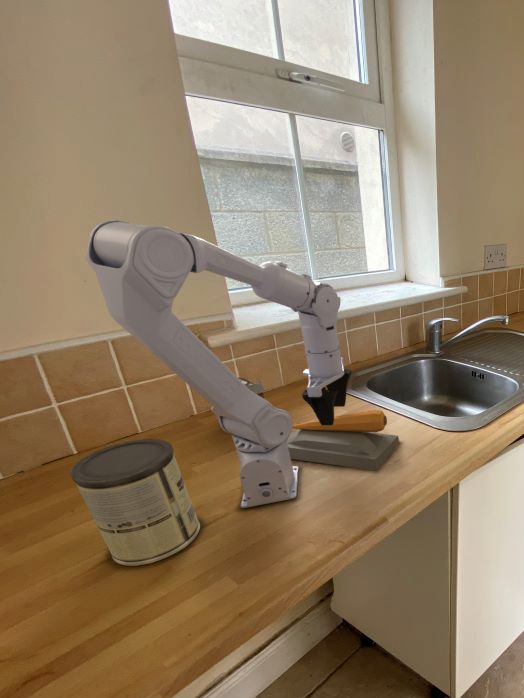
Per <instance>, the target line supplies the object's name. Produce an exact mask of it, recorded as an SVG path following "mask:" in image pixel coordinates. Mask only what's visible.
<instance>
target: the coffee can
mask: <svg viewBox="0 0 524 698" xmlns="http://www.w3.org/2000/svg"><path fill="white" fill-rule="evenodd" d="M174 452H175V451H174V448H173V445H172V444H171V442H169V441H167V440H163V439H159V438H157V439H156V438H145V439H144V438H143V439H134V440H129V441H124V442H120V443H116V444H113V445H109V446H107V447H104V448H102V449H99V450H96V451H95V452H92V453H90V454H89V455H87V456H85V457H83V458H82V459H81V460H78V461H77V462H76V464H75V465H73V467H72V468H71V470H70V475H69V476H70V477H71V479H72V481H73V482H74V483H75V484H76V487H77V489H78V491H79V493H80V495H81V497H82V498H83V501H84V503H85V504H86V507H87V508H88V511H89V512H90V515H91V516H92V518H93V520H94V522H95V525H96V526H97V528H98V531H99V532H100V534H101V536H102V539H103V540H104V542H105V544H106V547H107V548H108V550H109V552H110V554H111V559H112V560H113V561H114V562H115V563H117V564H118V565H122V566H129V567H137V566H138V567H139V566H142V565H149V564H152V563H155V562H159V561H161V560H164V559H167V558H168V557H171V556H173V555H174V554H176V553H178V552H180V551H182V550H184V549H185V548H186V547H188V546H189V545H190V544H191V543H192V542H193V541H194V540H195V539H196V538H197V536H198V534H199V532H200V529H201V523H200V520H199V519H198V516H197V514H196V512H195V509H194V506H193V503H192V500H191V497H190V495H189V492H188V489H187V487H186V484H185V480H184V478H183V476H182V473H181V471H180V468H179V464H178V462H177V459H176V456H175V453H174Z"/></svg>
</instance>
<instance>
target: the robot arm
mask: <svg viewBox="0 0 524 698" xmlns="http://www.w3.org/2000/svg"><path fill="white" fill-rule="evenodd" d="M84 257H85V258H84V259H85V261H86V262H87V263H88V265H89V266H90V267H91V268H92V270H93V271H94V273H95V275H96V278H97V281H98V284H99V287H100V289H101V292H102V295H103V296H102V297H103V299H104V301H105V304H106V305H105V306H106V308H107V311H108V313H109V315H110V316H111V318H112V319H113V320H114V321H115V322H116V323H117V324H118V325H119V326H120V327H121V328H122V329H124V330H125V331H126V332H127V333H129V335H131V336H132V337H133V338H134V339H135V340H136V341H138V343H140V344H141V345H142V346H144V347H145V348H146V349H147V350H148V351H149V353H151V354H153V355H154V356H155V357H156V358H157V359H158V360H159V361H160V362H162V363H163V364H164V365H165V366H166V367H167V368H168V369H170V370H171V371H172V372H173V373H174V374H175V375H176V376H178V377H179V379H181V380H182V381H183V382H184V383H185V384H187V385H188V386H189V387H190V388H191V389H193V391H195V392H196V393H197V394H198V395H200V396H201V397H202V398H203V399H204V400H205V401H206V402H207V403H209V404H210V406H211V407H210V411H211V412H212V413H213V414H214V416H216V418H217V420H218V423H219V426H220V428H221V430H222V431H223V432H225V433H227V434H229V435H231V437H232V441H233V443H234V446H235V449H236V453H237V457H238V460H239V463H240V470H239V480H240V482H241V486H242V489H243V494H242V497H241V501H240V508H242V509H246V508H251V507H257V506H263V505H267V504H272V503H277V502H282V501H283V502H284V501H288V500H294V499H296V498H297V494H298V482H299V470H300V469H299V466H297V465H295V466H293V462H292V460H291V458H290V453H289V449H288V444H287V441H288V437H289V436H290V435H291V434H292V430H293V429H292V426H293V425H294V424H293V423H294V422H293V417H292V415H290V413H289V412H288V411H287V410H285V409H281V408H277V407H276V406H274V405H273V404H272V403H271V402H270V401H268V400H267V399H265V398H264V399H263V398H262V397H260V396H258V395H257V394H255V393H253V392H252V391H250V390H249V389H248V388H247V387H246V386H245V385H244V384H243V383H242V382H241V381H240V380H239V379H238V378H239V377H238V376H237V375H236V374H235V373H234V372H232V370H231V369H230V368H228V366H227V365H225V363H223V362H222V361H221V359H220V358H218V356H217V355H215V354H214V352H212V350H211V349H210V348H209V347H208V346H206V345H205V344H204V343H203V341H202V340H201V339H200V338H199V337H197V335H195V334H194V332H193V331H192V330H191V329H189V327H188V326H187V325H186V324H185V323H184V322H183V321H182V320H180V319H179V318H178V316H177V315H176V314H174V312H173V310H172V309H173V303H174V301H175V299H176V297H177V295H178V293H179V292H180V290H181V289H182V287H183V285H184V283H185V281H186V280H187V279H188V276H189V274H191V273H193V274H200V273H202V272H204V271H207V272H209V273H213V274H216V275H219V276H221V277H225V278H228V279H231V280H234V281H236V282H240V283H243V284H246V285H249V286H251V289H252V291H253V293H254V294H255V295H256V296H257V297H258V298H260V299H262V300H266V301H270V302H272V303H275V304H278V305H281V306H283V307H287V308H290V309H291V311H292V312H294V313H297V314H298V320H299V324H300V330H301V335H302V341H303V346H304V353H305V357H306V362H307V368H306V369H304V370H303V372H302V376H303V377H308V378H307V379H308V384H307V386H306V389H304V391H302V392H301V396H302V399H303V400H304V401H305V402H306V403H307V405H309V406H310V408H311V409H312V411H313V412H314V414H315V416H316V418H317V420H319V422H320V424H321V425H333V423H334V417H335V408H340V407H341V408H344V407H345V406H346V402H347V391H348V385H349V381H350V377H351V375H352V370H351V369H348V368H347V369H346V368H345V363H344V362H345V361H344V357H342V355H341V347H340V341H339V334H338V328H337V324H338V321H339V318H338V314H339V310H340V307H341V297H340V296H338V293H337V292H336V290H335V289H334V288H333V286H331V284H328V283H325V282H321V281H320V282H319V281H315V280H313V279H312V276H311V275H310V274H308V273H301V274H300V273H298V272H296V271H293V270H291V269H289V268H288V264H287V263H285V262H283V261H278V260H274V261H273V262H272V261H264V262H262V263H260V264H257V263H255V262H252V261H250V260H248V259H246V258H244V257H242V256H240V255H237V254H235V253H233V252H231V251H228V250H226V249H224V248H222V247H220V246H218V245H216V244H213V243H211V242H209V241H207V240H205V239H203V238H201V237H197V236H196V235H192V234H187V233H184V232H178V231H176V230H175V229H173V228H170V227H167V226H165V225H164V226H163V225H146V224H145V225H144V224H137V223H130V222H128V221H124V220H118V219H111V220H106V221H105V220H104V221H102V222H100V223H98V224H97V225H96V226H94V227H93V228H92V230H91V231H90V233H89V236H88V241H87V247H86V251H85V256H84ZM237 377H238V378H237Z"/></svg>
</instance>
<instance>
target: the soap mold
mask: <svg viewBox="0 0 524 698" xmlns="http://www.w3.org/2000/svg"><path fill="white" fill-rule="evenodd" d="M287 444H288V449H289V453H290V458H291V459H293V460H298V461H305V462H311V463H320V464H326V465H333V466H340V467H347V468H354V469H361V470H362V469H363V470H369V471H378V470H379V469H380V467H381V466H382V465H383V463H385V462H386V460H387V459H388V457H389V456H390V455H391V454H392V453H393V451H394V450H395V449H396V448H397V447H398V446H399V444H400V438H399V435H397V434H390V433H389V434H388V433H381V432H352V431H321V430H303V429H295V431H293V432H291V433H290V435H289V437H288V441H287Z"/></svg>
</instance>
